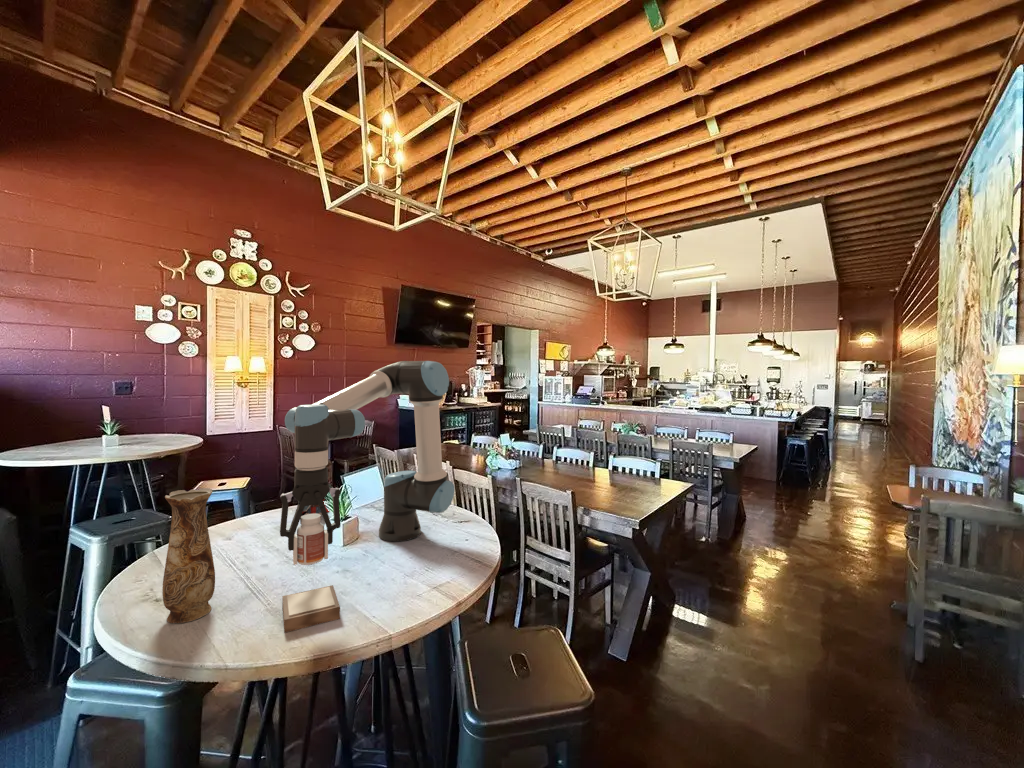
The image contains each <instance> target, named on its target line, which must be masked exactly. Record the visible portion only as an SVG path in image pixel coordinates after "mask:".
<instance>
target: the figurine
mask: <svg viewBox="0 0 1024 768" xmlns="http://www.w3.org/2000/svg"><path fill="white" fill-rule="evenodd" d="M324 500H325V498H324V499H323V501H324ZM325 508H326V511H327V513H329V512H330V510H329V509H328V508H327V507H326V505H325ZM328 510H329V511H328ZM313 513H316V514H320V515H321V516H322V513H321V511H320V508H319V505H309V506H305V508H304V510H303V512H302V515H303V514H304V515H306V514H313Z"/></svg>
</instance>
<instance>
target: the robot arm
mask: <svg viewBox="0 0 1024 768" xmlns="http://www.w3.org/2000/svg"><path fill="white" fill-rule="evenodd" d="M449 386H450V377H449V374H448V371H447V369H446V368H445V366H444V365H443V364H442V363H441V362H438V361H433V360H402V361H397V362H393V363H391V364H388V365H386V366H383V367H381V368H378V369H375V370H374V371H372V372H371V373H370V374H369V376H368V377H367V378H365V379H362V380H360V381H358V382H357V383H354V384H352V385H349V386H348V387H345V388H343V389H341V390H339V391H337V392H335V393H334V394H332V395H328V396H327V397H325V398H323V399H321V400H319V401H316V402H314V403H312V404H300V405H298V406H297V407H296V406H295V407H293V408H290V409H289V410H288V411H287V413H286V415H285V416H284V425H285V428H286V430H287V431H288V432H289V433H291V434H294V467H295V470H293V471H294V475H293V476H294V481H293V482H294V483H293V488H292V490H291V491H290V492H286V493H284V492H283V493H281V494H280V501H281V504H282V505H281V514H280V515H281V516H280V526H279V536H280V537H286V538H287V548H288V550H289V552H290V551H292V558H293V559H292V561H293V562H292V563H293V566H294V565H295V566H296V565H298V562H297V529H298V527H299V523H300V518H301V516H303V514H302V512H303V510H304V508H305V506H309V505H319V508H320V511H321V513H322V515H321V517H322V519H323V521H324V524H325V526H326V527H325V528H326V529H324V558H323V560H327V559H328V558H329V545H331V544H333V538H334V537H333V536H334V531H335V530H337V529H340V528H341V513H340V496H341V492H342V491H341V489H340V488H339V487H335V488H334V487H330V485H329V481H328V480H329V477H328V476H329V475H328V474H329V473H328V472H329V468H328V465H329V441H334V440H341V439H347V438H353V437H356V436H359V435H361V434H362V433H363V432H364V429H365V427H366V418H365V415H364V414H363V413H362V411H360V410H359V409H361V408H363V407H364V406H366V405H368V404H370V403H371V402H373V401H375V400H377V399H378V398H387V397H388V396H391V395H395V394H396V395H398V394H400V395H402V394H404V395H408V402H410V403H411V404H412V405H413V412H414V414H413V415H414V425H415V445H416V460H417V461H416V462H417V471H416V470H400V471H396V472H391V473H388V474H387V475H386V476H385V478H384V483H383V516H382V520H381V522H380V525H379V528H378V537H379V538H380V539H381V540H383V541H386V542H405V541H410V540H413V539H416V538H417V537H419V536H420V535H421V530H422V529H421V527H422V526H421V523H420V521H419V518H418V513H417V511H422V512H426V513H427V512H428V513H431V514H434V513H435V514H442V513H444V512H445V511H447V510H448V508H450V506H451V505H452V502H453V499H454V495H455V484H454V483H453V481H452V480H450V479H448V474H447V471H446V470H444V468H443V456H442V439H441V436H442V435H441V421H440V418H441V417H440V403H441V402H442V401H443V399H444V395H445V394H446V393H447V392H448V390H449ZM329 493H330V496H331V498H332V500H331V501H332V510H333V511H332V513H333V522H332V523H331V520H330V517H329V514H328V512H327V511H326V508H327V507H326V508H325V506H326V504H325V505H324V502H323V499H324V500H325V498H326V497H327V496H328V494H329ZM292 497H294V499H295V500H297V502H298V503H297V507H296V509H295V512H294V514H293V517H292V521H291V524H290V526H289V529H287V525H288V515H289V513H288V512H289V503H290V502H291V501H292Z"/></svg>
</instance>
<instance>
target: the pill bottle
mask: <svg viewBox="0 0 1024 768" xmlns="http://www.w3.org/2000/svg"><path fill="white" fill-rule="evenodd" d="M321 521H322V515H320V514H316V513H313V514H306V515H305V514H304V515H303V514H302V515H301V518H300V521H299V523H300V525H298V526H297V529H296V534H297V564H299V565H301V566H308V565H314V564H319V562H321V561H323V560H324V530H325V526H324V524H323V523H322V522H321Z"/></svg>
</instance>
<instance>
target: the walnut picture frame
mask: <svg viewBox="0 0 1024 768" xmlns="http://www.w3.org/2000/svg"><path fill="white" fill-rule="evenodd" d="M281 599H282V602H281V603H282V607H281V608H282V619H283V621H282V622H283V631H284V633H285V634H286V633H288V632H293V631H297V630H301V629H305V628H308V627H313V626H316V625H320V624H325V623H328V622H332V621H337V620H340V619H341V606H340V603H339V599H338V596H337V593H336V590H335V587H334V585H328V586H327V585H326V586H324V587H319V588H315V589H309V590H304V591H299V592H297V593H296V592H295V593H291V594H285V595H283V596H282V598H281Z"/></svg>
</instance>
